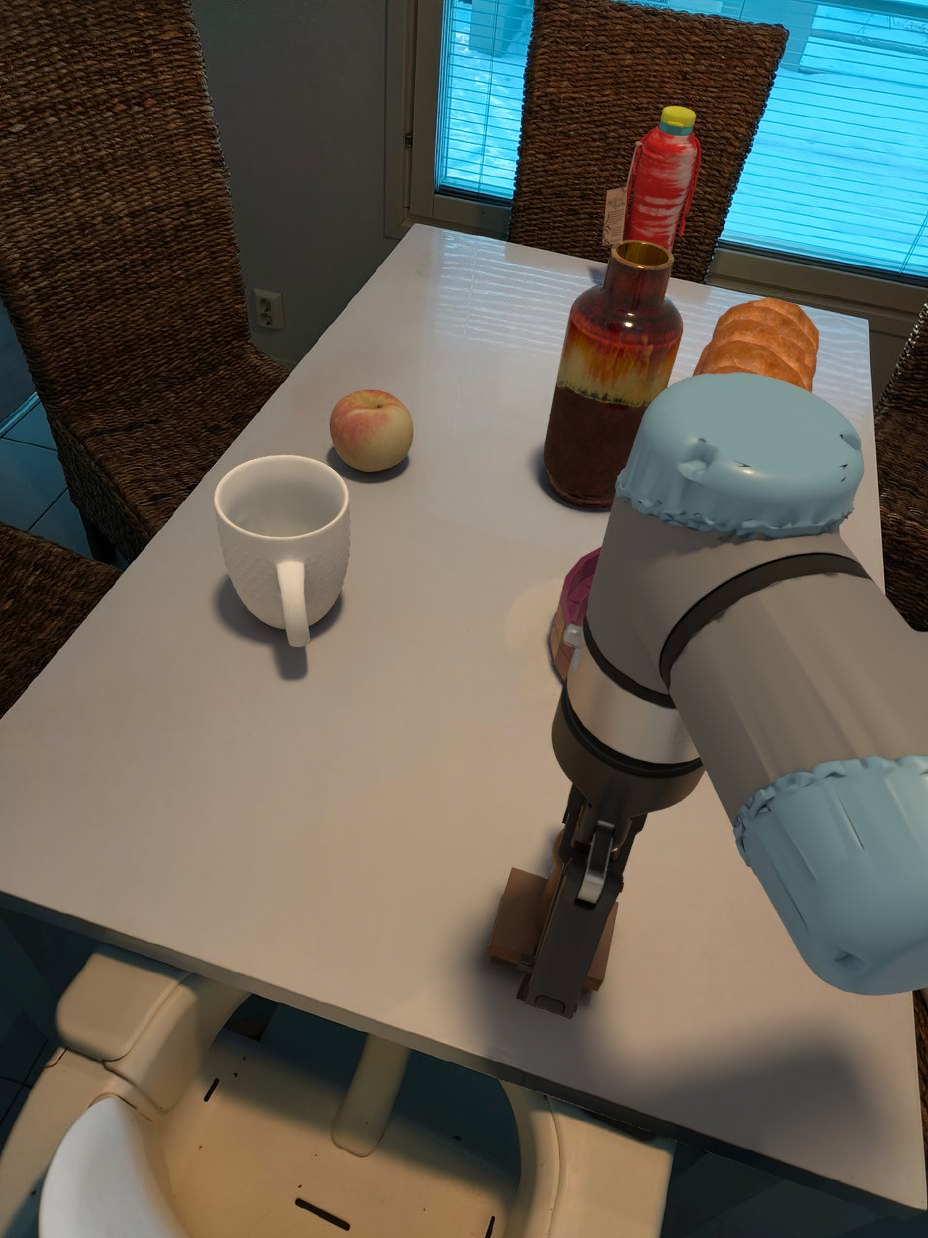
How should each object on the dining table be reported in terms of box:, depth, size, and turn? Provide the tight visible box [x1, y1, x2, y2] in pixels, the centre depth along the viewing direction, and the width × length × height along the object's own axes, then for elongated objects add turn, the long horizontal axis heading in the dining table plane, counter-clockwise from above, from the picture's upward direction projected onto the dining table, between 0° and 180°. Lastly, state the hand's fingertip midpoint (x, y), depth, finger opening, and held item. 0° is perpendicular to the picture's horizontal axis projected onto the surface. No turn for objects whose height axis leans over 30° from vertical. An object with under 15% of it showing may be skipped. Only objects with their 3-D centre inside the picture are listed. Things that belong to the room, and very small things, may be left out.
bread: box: [692, 296, 820, 393], centre depth 98 cm, size 14×26×16 cm, turn 160°
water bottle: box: [601, 105, 702, 254], centre depth 120 cm, size 12×8×25 cm, turn 74°
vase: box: [542, 240, 684, 509], centre depth 86 cm, size 11×11×26 cm
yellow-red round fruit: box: [329, 389, 414, 473], centre depth 92 cm, size 9×9×8 cm
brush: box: [486, 822, 620, 996], centre depth 54 cm, size 8×6×15 cm
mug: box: [213, 454, 351, 648], centre depth 73 cm, size 15×11×13 cm
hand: (562, 906), depth 55 cm, fingers open, 12 cm apart
